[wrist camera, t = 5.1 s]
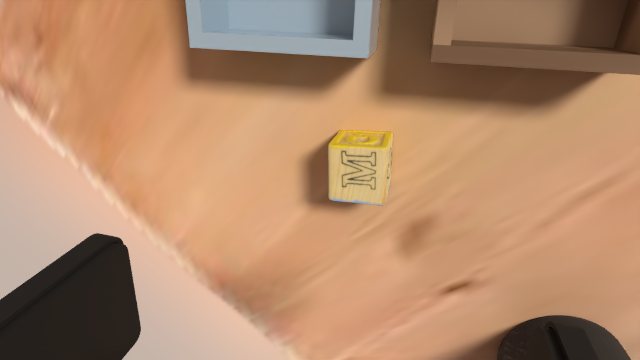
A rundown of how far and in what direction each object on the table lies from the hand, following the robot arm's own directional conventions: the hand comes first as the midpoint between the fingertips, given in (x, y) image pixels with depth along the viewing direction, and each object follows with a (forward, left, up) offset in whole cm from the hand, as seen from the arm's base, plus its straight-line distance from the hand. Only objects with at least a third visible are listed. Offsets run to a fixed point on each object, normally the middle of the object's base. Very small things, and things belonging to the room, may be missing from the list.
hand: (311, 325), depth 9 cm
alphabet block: (-1, +1, -15) cm, 15 cm away
